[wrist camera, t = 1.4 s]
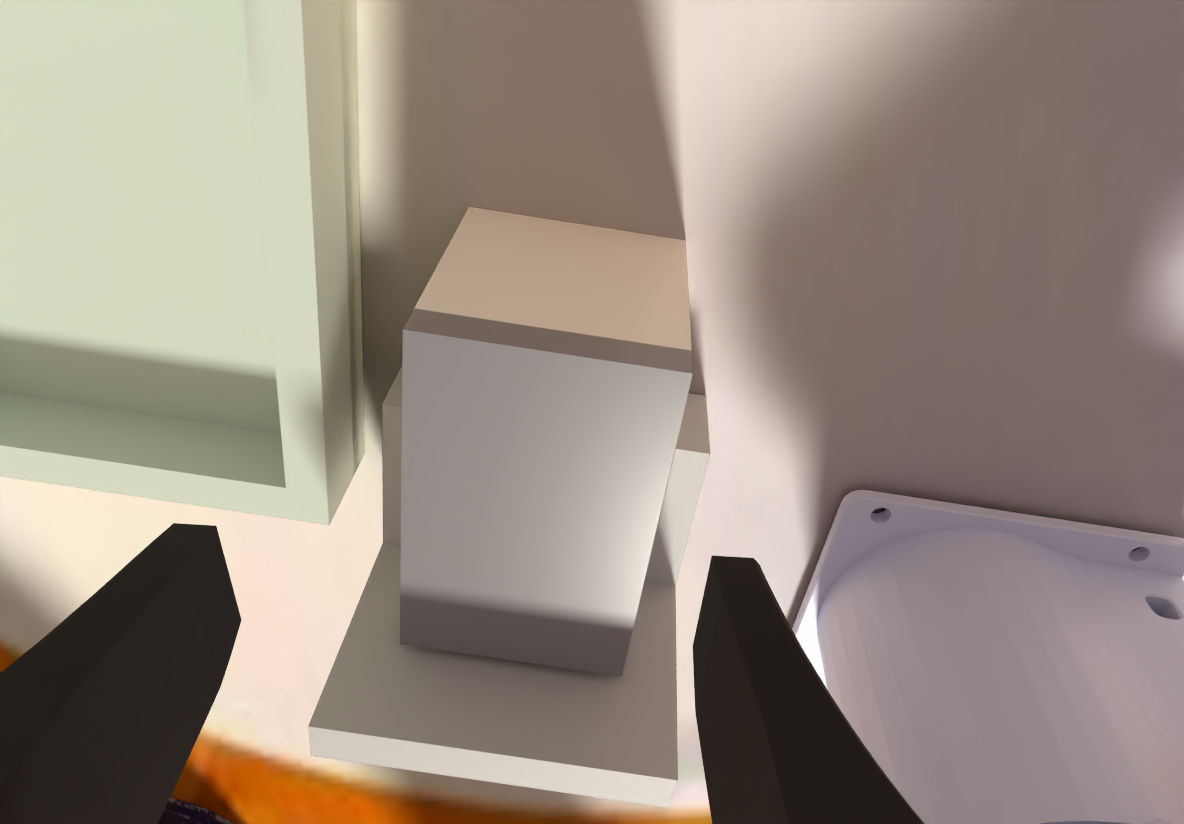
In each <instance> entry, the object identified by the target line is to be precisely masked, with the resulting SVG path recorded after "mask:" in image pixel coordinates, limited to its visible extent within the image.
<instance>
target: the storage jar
mask: <svg viewBox="0 0 1184 824" xmlns="http://www.w3.org/2000/svg"><path fill="white" fill-rule="evenodd" d="M158 824H234V823H232V822H231V821H229V820H227V819H225V818H223V817H221V816H219V815H217V814H215V813H214V812H211V811H209V810H206V809H204V808H201V807H199V806H197V805H194V804H191V803H187V802H184V801H181V800H178V799H174V798H169V800H168V803H167V805H166V807H165V809H164V811H163V813H162V816H161V818H160V820H159V822H158Z"/></svg>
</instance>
